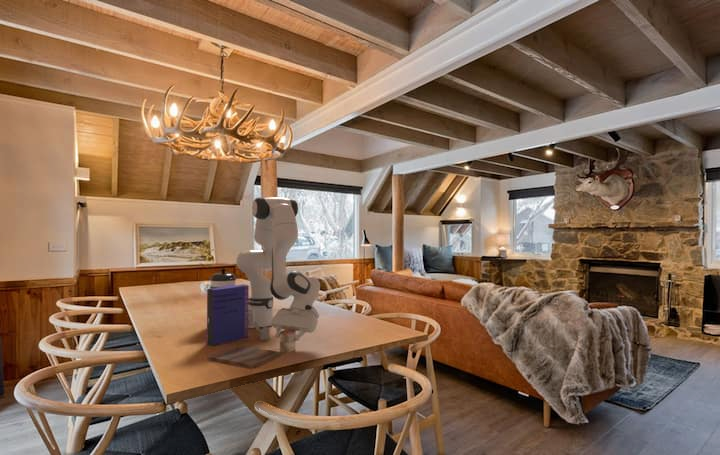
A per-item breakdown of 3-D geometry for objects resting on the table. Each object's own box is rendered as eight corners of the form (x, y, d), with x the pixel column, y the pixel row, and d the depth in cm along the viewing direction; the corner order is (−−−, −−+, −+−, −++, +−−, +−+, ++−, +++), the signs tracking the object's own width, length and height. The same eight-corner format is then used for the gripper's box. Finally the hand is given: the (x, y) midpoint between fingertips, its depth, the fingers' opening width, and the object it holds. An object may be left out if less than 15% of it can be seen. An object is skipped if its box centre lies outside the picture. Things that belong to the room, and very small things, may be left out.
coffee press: (199, 329, 184) (199, 269, 185) (220, 322, 200) (220, 266, 200) (228, 332, 179) (229, 270, 180) (247, 324, 195) (248, 267, 195)
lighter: (269, 338, 169) (269, 320, 169) (269, 339, 167) (269, 321, 167) (253, 339, 167) (253, 321, 167) (253, 340, 166) (253, 322, 166)
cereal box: (242, 335, 173) (242, 284, 173) (248, 337, 170) (248, 285, 170) (206, 344, 160) (207, 288, 160) (212, 346, 157) (212, 289, 157)
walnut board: (207, 359, 140) (207, 356, 140) (237, 347, 155) (237, 344, 155) (253, 368, 131) (253, 365, 131) (280, 355, 146) (280, 351, 146)
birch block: (279, 351, 151) (280, 331, 151) (286, 348, 155) (286, 328, 155) (289, 352, 149) (289, 332, 149) (295, 349, 153) (295, 330, 153)
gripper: (277, 303, 162) (262, 331, 153) (317, 307, 154) (304, 337, 145) (283, 311, 166) (269, 339, 157) (322, 316, 158) (310, 345, 149)
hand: (286, 338), depth 151 cm, fingers open, 8 cm apart
